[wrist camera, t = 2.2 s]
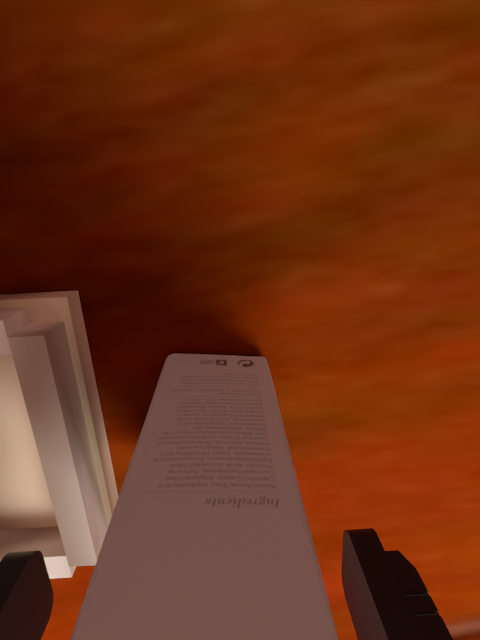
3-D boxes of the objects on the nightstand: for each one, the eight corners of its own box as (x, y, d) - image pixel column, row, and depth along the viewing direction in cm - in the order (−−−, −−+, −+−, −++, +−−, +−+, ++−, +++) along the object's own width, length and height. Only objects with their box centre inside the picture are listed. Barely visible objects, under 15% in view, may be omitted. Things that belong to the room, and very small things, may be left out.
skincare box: (164, 350, 15) (-55, 838, 4) (273, 353, 15) (402, 830, 4) (167, 473, 17) (33, 1050, 5) (264, 474, 17) (332, 1039, 6)
